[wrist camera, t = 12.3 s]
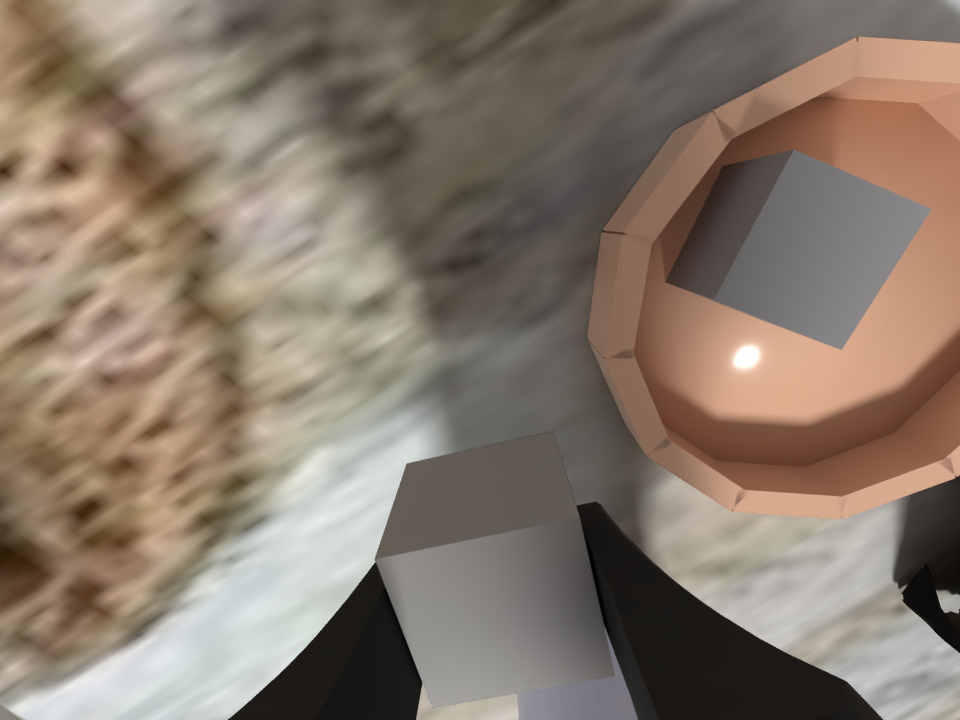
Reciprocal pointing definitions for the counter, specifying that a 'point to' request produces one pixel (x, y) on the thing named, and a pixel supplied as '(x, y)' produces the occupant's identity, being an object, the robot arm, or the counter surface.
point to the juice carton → (932, 608)
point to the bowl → (774, 350)
